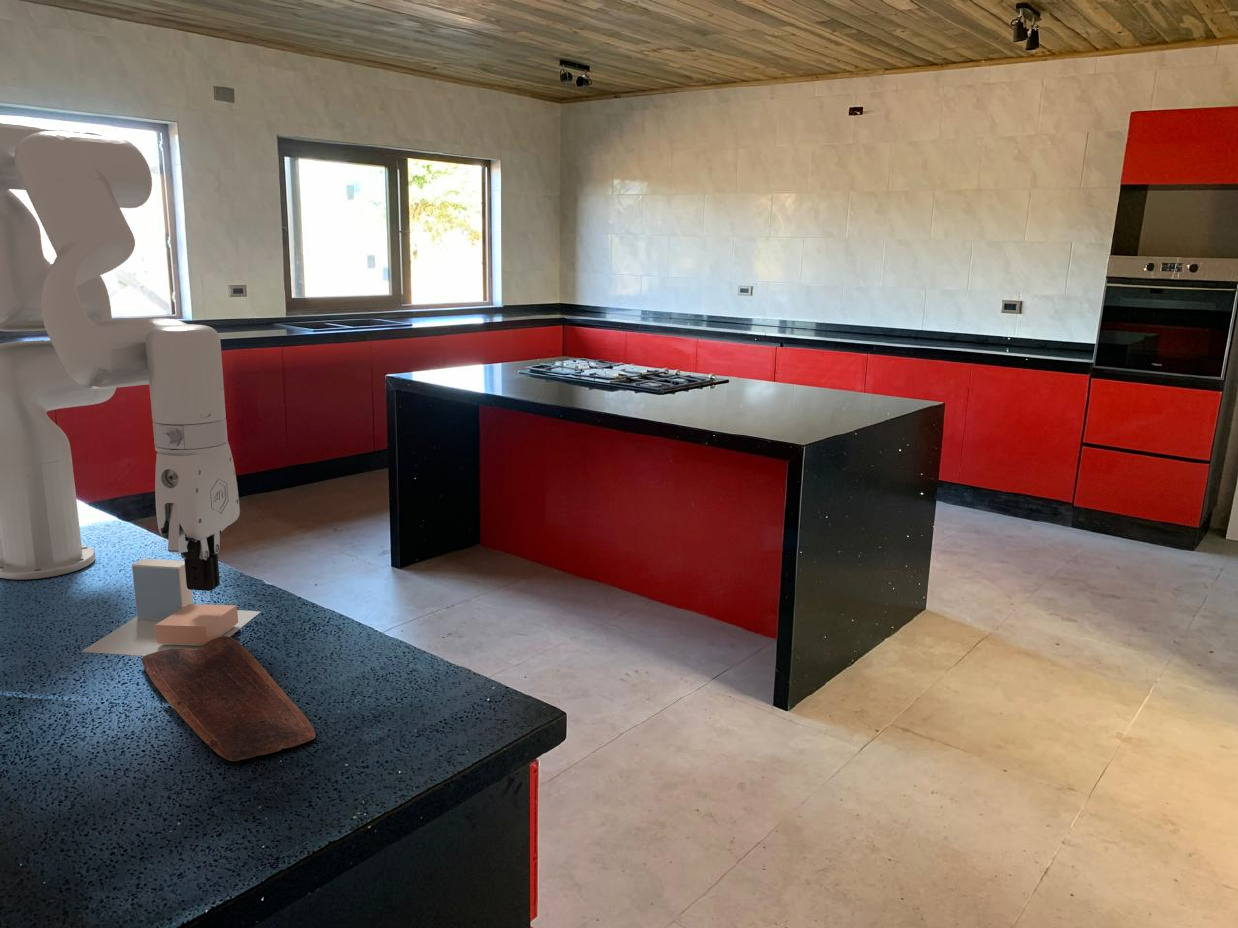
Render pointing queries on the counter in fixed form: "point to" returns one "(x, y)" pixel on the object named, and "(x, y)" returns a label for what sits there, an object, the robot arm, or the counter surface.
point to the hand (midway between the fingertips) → (203, 587)
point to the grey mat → (149, 637)
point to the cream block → (160, 588)
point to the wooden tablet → (228, 699)
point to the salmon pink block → (196, 624)
